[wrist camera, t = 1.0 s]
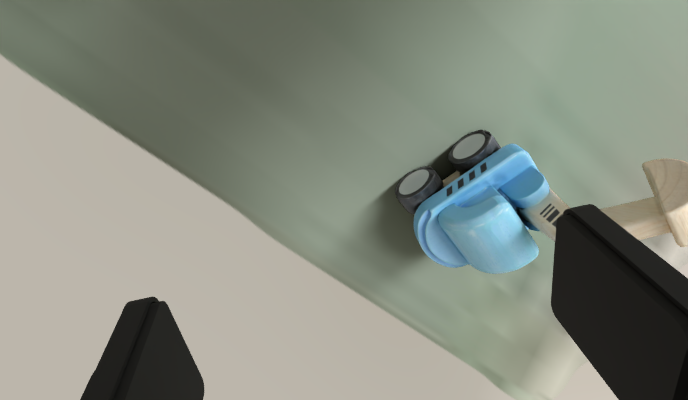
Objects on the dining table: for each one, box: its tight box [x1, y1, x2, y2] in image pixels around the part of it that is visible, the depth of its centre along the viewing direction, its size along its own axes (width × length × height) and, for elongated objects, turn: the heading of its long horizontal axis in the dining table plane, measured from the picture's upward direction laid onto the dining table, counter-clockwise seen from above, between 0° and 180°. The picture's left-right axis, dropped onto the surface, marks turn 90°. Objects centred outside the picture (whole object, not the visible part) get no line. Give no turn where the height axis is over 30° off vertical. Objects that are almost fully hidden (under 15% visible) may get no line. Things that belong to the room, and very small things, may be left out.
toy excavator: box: [395, 130, 688, 274], centre depth 34 cm, size 9×17×17 cm, turn 126°
